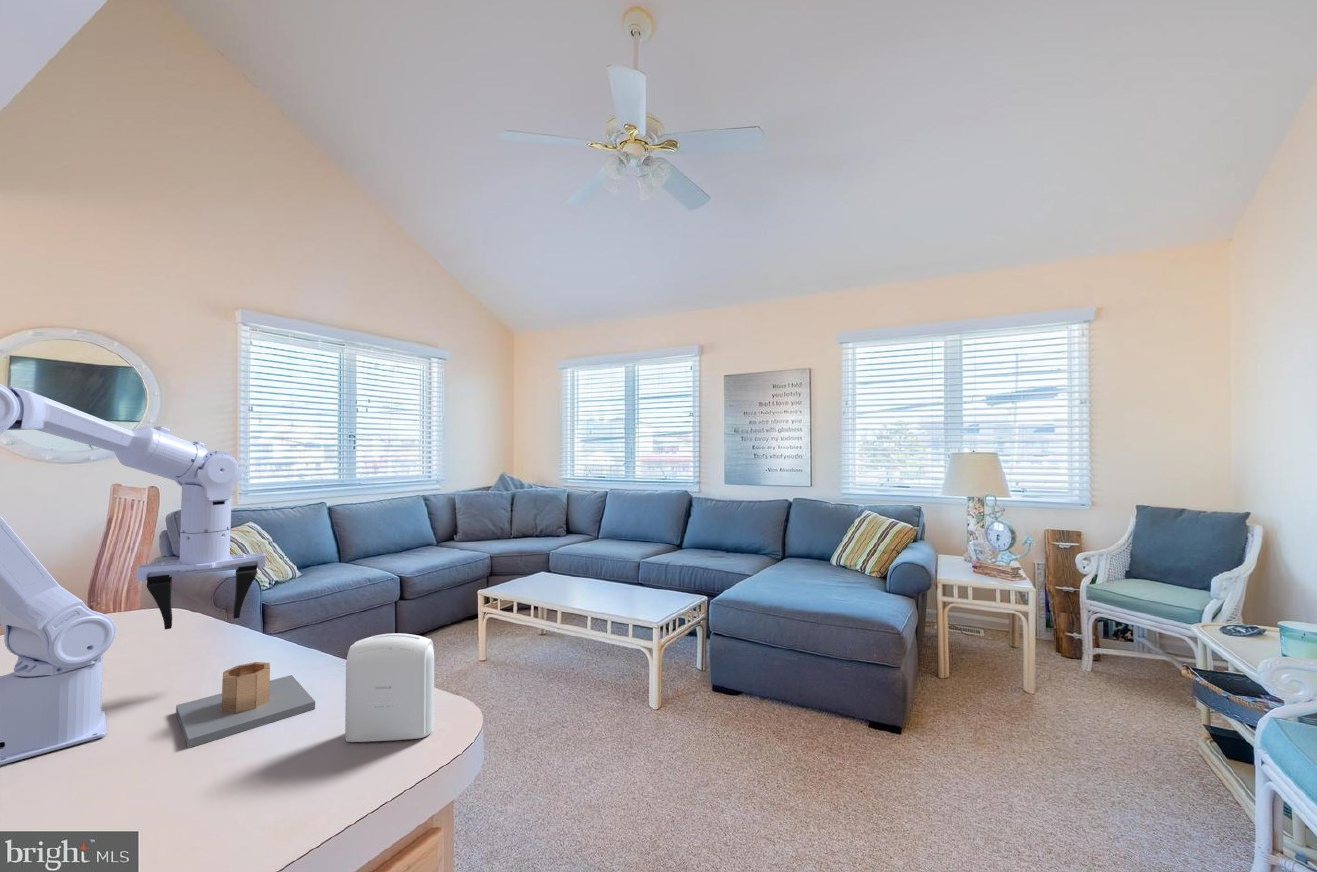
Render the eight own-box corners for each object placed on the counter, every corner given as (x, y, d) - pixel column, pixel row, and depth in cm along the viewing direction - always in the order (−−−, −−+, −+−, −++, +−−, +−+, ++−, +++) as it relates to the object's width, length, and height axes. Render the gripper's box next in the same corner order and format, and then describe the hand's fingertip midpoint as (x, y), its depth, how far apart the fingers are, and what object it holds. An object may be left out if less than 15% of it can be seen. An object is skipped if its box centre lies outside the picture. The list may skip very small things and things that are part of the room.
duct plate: (188, 747, 63) (189, 718, 63) (176, 712, 71) (176, 686, 71) (315, 708, 72) (315, 682, 72) (291, 681, 80) (292, 658, 80)
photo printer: (338, 746, 63) (340, 642, 64) (355, 727, 68) (357, 629, 68) (427, 742, 64) (429, 640, 65) (438, 723, 69) (440, 628, 69)
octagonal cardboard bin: (245, 714, 69) (246, 679, 69) (211, 711, 69) (212, 676, 69) (278, 696, 73) (278, 663, 74) (246, 693, 74) (246, 661, 74)
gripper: (135, 539, 71) (132, 640, 71) (268, 529, 81) (266, 618, 80) (140, 532, 77) (137, 626, 76) (264, 523, 86) (262, 607, 86)
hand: (203, 621), depth 79 cm, fingers open, 7 cm apart
